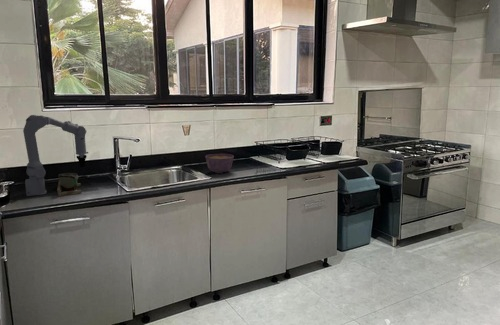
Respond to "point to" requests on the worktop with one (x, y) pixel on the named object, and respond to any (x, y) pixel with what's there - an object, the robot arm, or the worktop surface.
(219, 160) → the bowl of food
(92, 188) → the worktop surface
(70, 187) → the food container
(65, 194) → the tan piece
